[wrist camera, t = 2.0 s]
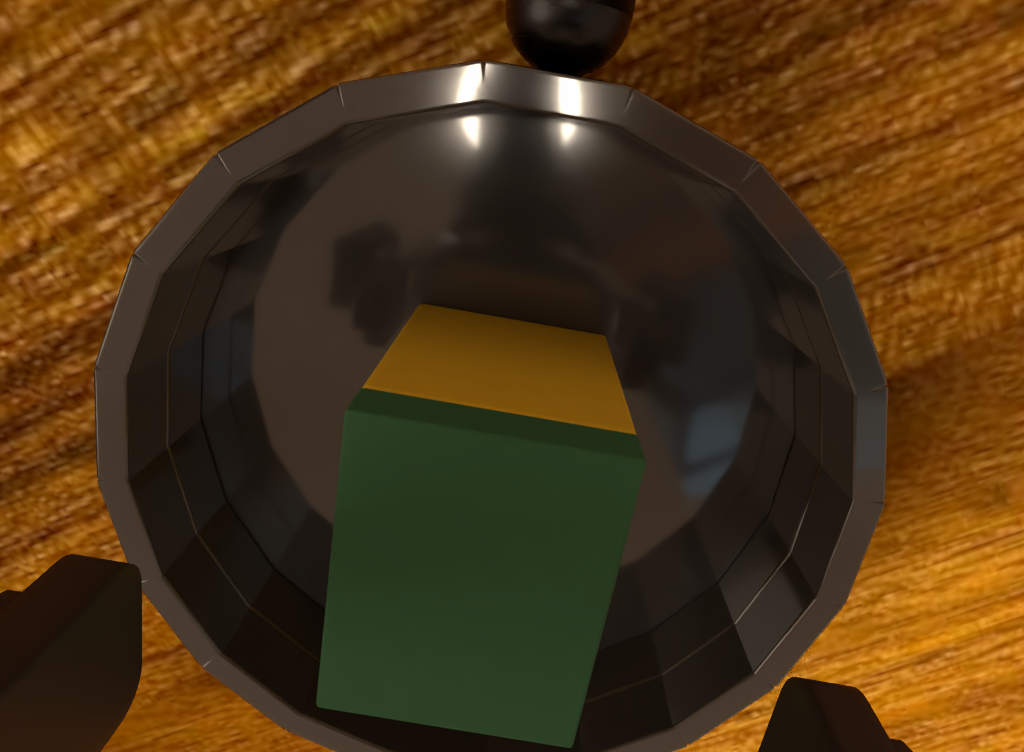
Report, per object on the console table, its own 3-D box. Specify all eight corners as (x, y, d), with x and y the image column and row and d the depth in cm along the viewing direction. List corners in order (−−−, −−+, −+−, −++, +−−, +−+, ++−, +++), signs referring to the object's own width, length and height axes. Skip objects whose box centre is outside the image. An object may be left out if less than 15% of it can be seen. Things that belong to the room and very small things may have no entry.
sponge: (419, 301, 15) (343, 409, 9) (607, 334, 15) (648, 461, 9) (392, 508, 16) (314, 708, 11) (561, 537, 16) (572, 750, 11)
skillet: (191, 20, 14) (79, -15, 10) (908, 150, 14) (1024, 157, 11) (182, 619, 18) (103, 727, 15) (718, 707, 19) (756, 832, 15)
